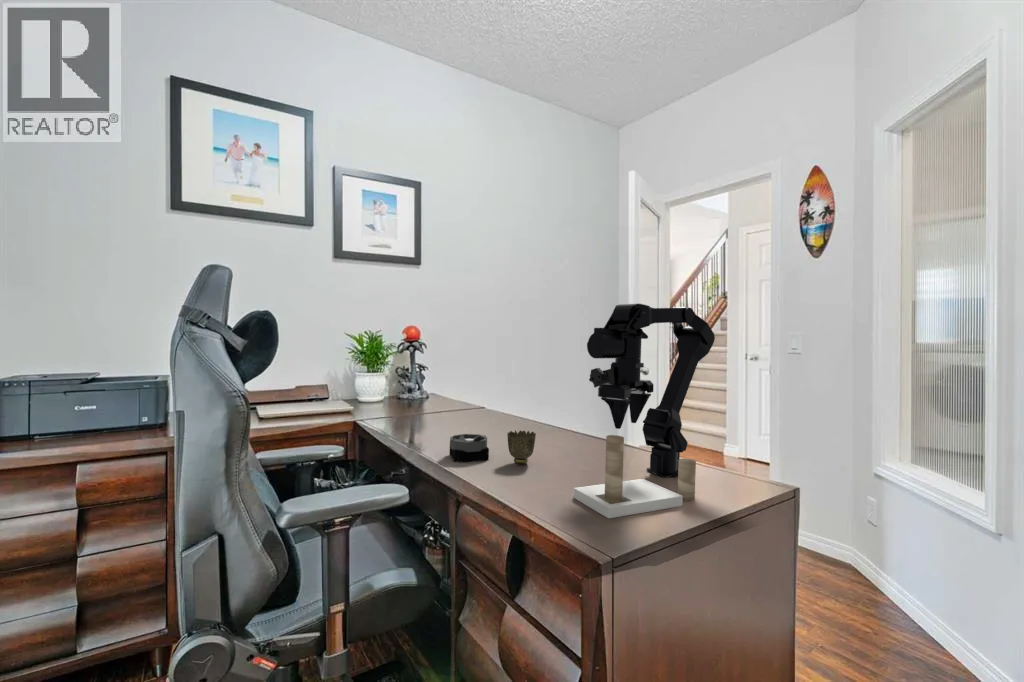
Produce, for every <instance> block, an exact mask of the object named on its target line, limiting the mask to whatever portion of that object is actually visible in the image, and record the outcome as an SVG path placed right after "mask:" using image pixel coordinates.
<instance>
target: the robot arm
mask: <svg viewBox="0 0 1024 682" xmlns="http://www.w3.org/2000/svg"><path fill="white" fill-rule="evenodd" d="M663 323H664V324H665V323H666V324H667V323H669V324H670V323H671V324H672V325H673V326H672V332H673V334H674V336H675V337H676V339H677V341H676V350H677V353H678V356H677V359H676V361H675V364H674V366H673V369H672V372H671V375H670V377H669V380H668V383H667V385H666V388H665V390H664V393H663V394H662V395H663V396H662V398H661V400H660V403H659V405H658V406H656V407H655V408H652V407H650V408H649V409H648V410H647V411H646V416H645V418H644V419H643V421H642V423H643V425H642V433H643V436H644V437H643V438H644V441H645V445H646V446H647V447H651V453H650V457H649V467H647V468H646V471H647V472H650V473H651V474H652V473H653V474H655V475H658V476H660V477H662V478H669V477H678V465H679V459H680V453H683V452H686V451H687V449H688V448H687V447H688V443H689V442H688V441H687V439H686V438H685V437H684V435H683V433H682V432H681V430H682V427H683V424H682V420H681V415H680V412H681V409H682V407H683V404H684V401H685V398H686V396H687V393H688V390H689V388H690V385H691V381H693V378H694V374H695V372H696V369H697V367H698V363H699V362H700V361H701V360H702V359H704V358H705V357H706V356H707V355H708V354H709V353H710V351H711V348H712V347H713V345H714V343H715V333H714V331H713V330H712V328H711V327H710V325H709V324H708V322H707V321H705V320H704V319H703V318H702V317H700V316H699V315H697V314H696V312H695V311H694V309H693V308H691V307H689V306H673V307H651V306H650V305H648V304H643V303H623V304H622V303H620V304H619V303H618V304H617V305H615V307H614V309H613V311H612V314H611V315H610V316H609V318H608V320H607V321H606V323H605V325H604V327H594V328H593V333H592V334H590V336H589V338H588V341H587V343H586V349H587V352H588V355H589V356H590V357H591V358H592V359H615V361H612V362H611V364H610V368H609V369H604V370H602V369H601V368H600V367H596V368H593V369H591V370H590V374H589V379H588V381H589V382H591V383H592V384H593V388H595V389H596V388H597V389H598V391H597V397H600V399H601V401H603V402H605V403H606V404H607V406H608V407H609V410H610V413H611V417H612V421H613V425H614V428H615V429H617V430H620V429H622V426H623V423H624V420H625V417H626V414H627V413H628V408H629V415H630V422H631V424H636V423H637V421H638V420H639V418H640V416H641V413H642V411H643V410H644V408H645V406H646V405H647V403H648V400H649V399H650V397H651V395H652V393H653V392H654V383H653V382H652V381H651V380H649V379H641V369H642V368H644V367H645V366H644V362H642V340H643V339H644V340H647V339H649V336H648V335H647V333H645V332H644V330H643V328H648V327H650V326H651V325H653V324H663ZM682 323H683V324H687V325H688V326H684V325H683V324H682Z"/></svg>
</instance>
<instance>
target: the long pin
mask: <svg viewBox="0 0 1024 682" xmlns="http://www.w3.org/2000/svg"><path fill="white" fill-rule="evenodd" d="M624 449H625V437H624V436H621V435H614V434H613V435H612V434H608V435H606V436H605V463H604V464H605V468H604V484H605V498H604V501H605V502H607V503H609V504H615V503H622V490H623V481H624V455H625V454H624V451H625V450H624Z"/></svg>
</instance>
